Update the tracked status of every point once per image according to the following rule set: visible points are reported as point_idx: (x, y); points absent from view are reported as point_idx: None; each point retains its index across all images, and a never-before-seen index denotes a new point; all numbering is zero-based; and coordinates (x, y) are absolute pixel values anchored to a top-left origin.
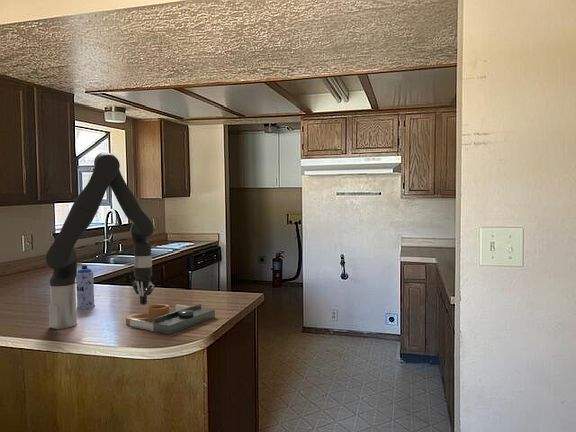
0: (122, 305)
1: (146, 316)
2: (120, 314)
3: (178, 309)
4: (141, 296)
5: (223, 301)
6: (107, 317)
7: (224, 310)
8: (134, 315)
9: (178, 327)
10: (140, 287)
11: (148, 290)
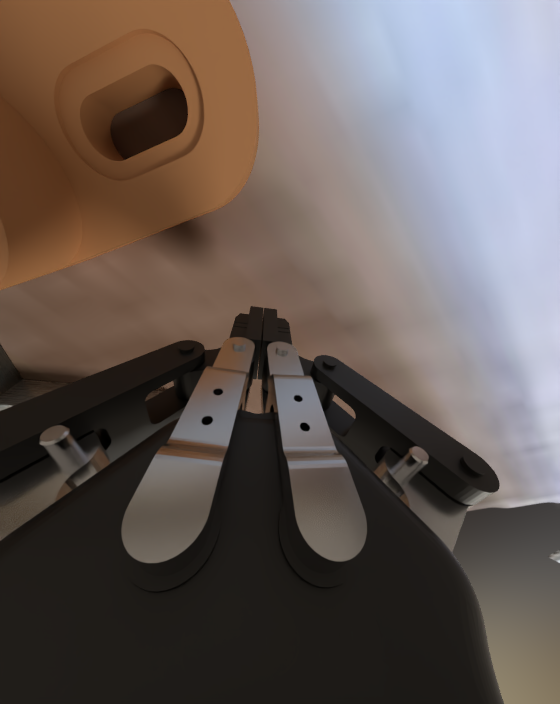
0: (463, 386)
1: (99, 163)
2: (412, 266)
3: (149, 398)
4: (265, 345)
5: None
6: (478, 168)
7: None
8: (202, 127)
9: None
10: (276, 421)
11: (88, 384)
